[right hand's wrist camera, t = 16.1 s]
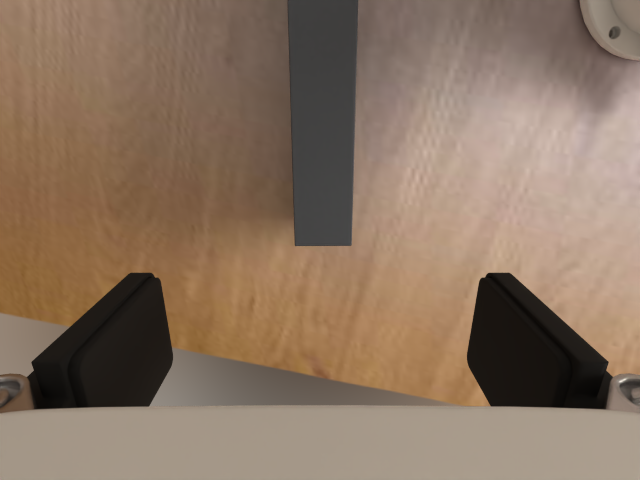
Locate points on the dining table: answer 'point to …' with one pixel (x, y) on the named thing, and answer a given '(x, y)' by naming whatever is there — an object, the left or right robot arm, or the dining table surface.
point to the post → (323, 118)
